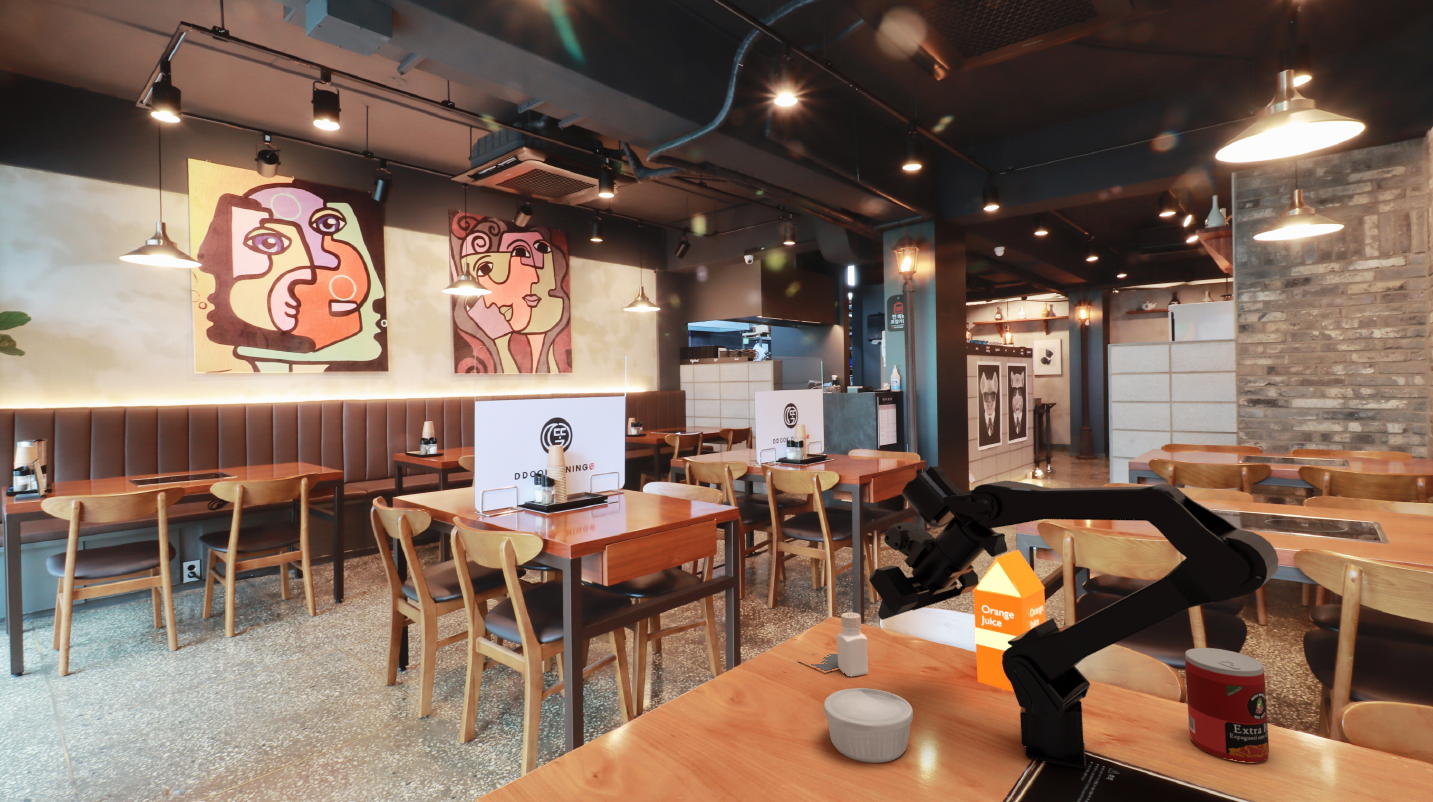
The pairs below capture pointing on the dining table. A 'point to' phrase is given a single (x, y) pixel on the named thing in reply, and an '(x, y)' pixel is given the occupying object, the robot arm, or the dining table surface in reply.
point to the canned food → (1227, 704)
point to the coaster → (828, 663)
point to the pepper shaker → (852, 646)
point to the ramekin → (868, 724)
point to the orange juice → (1004, 613)
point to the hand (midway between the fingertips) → (895, 612)
